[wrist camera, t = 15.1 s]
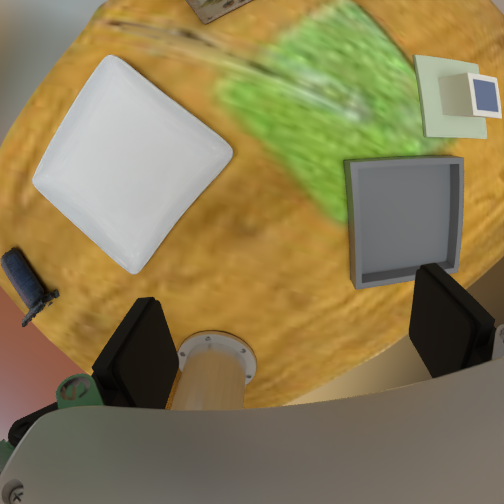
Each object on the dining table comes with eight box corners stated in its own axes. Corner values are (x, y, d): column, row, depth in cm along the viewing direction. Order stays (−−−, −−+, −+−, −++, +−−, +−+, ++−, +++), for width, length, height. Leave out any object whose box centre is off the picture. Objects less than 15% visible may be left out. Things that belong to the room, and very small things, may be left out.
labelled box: (470, 117, 31) (502, 118, 24) (442, 115, 31) (474, 115, 24) (465, 82, 29) (497, 77, 22) (437, 78, 29) (468, 72, 23)
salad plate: (241, 150, 36) (238, 151, 32) (142, 268, 42) (134, 279, 39) (119, 54, 31) (107, 49, 28) (43, 178, 37) (29, 183, 34)
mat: (483, 138, 32) (487, 138, 31) (423, 136, 33) (426, 137, 32) (474, 65, 28) (477, 64, 27) (412, 55, 29) (415, 54, 28)
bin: (448, 263, 39) (457, 272, 37) (350, 279, 41) (355, 289, 38) (451, 155, 34) (463, 157, 31) (343, 160, 35) (350, 162, 32)
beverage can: (66, 290, 46) (27, 236, 43) (44, 307, 38) (2, 245, 35) (40, 316, 46) (4, 266, 44) (19, 334, 39) (-20, 277, 36)
